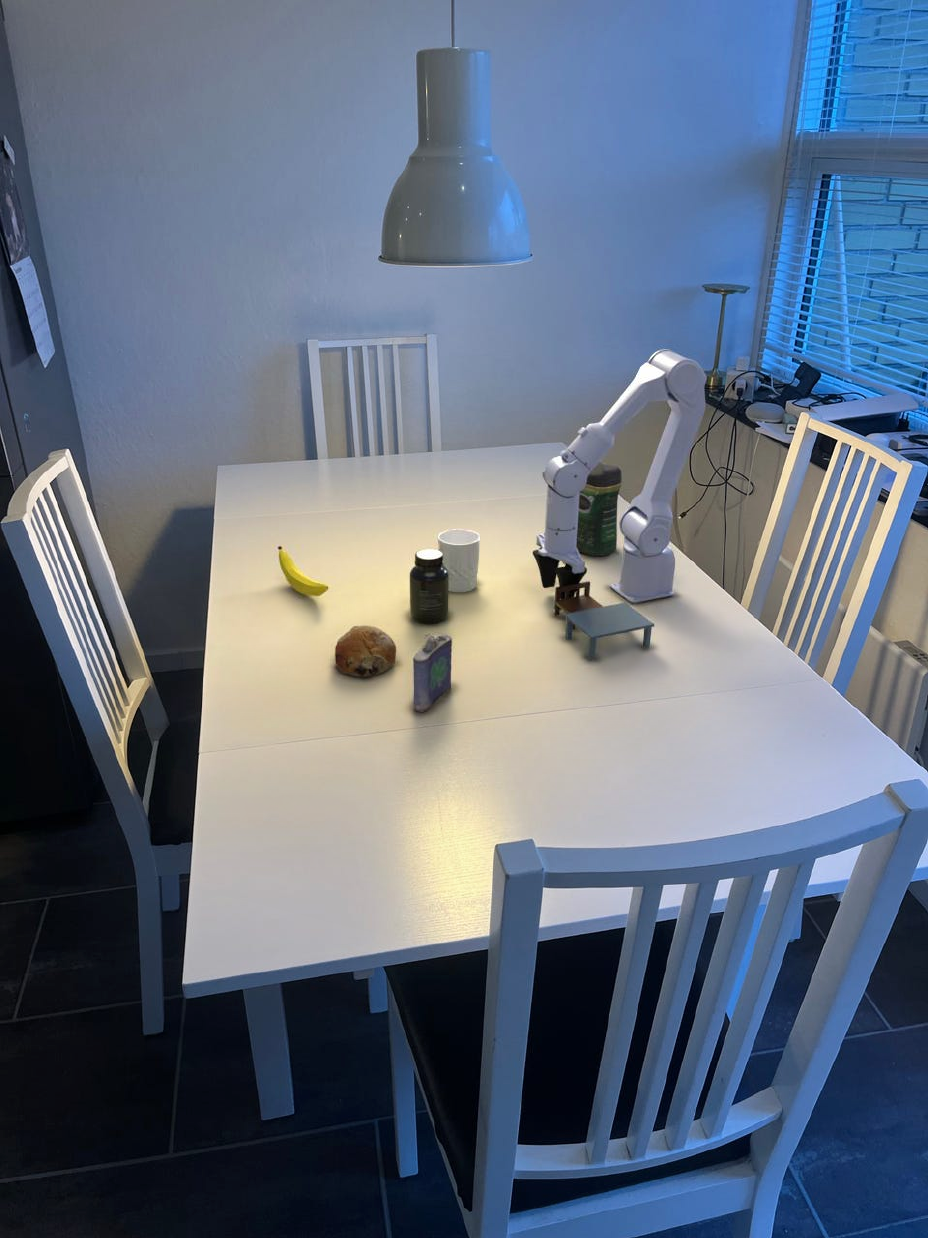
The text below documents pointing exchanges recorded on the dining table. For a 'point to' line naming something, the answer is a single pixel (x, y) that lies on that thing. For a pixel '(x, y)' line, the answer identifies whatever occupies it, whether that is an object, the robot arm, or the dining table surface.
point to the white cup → (460, 558)
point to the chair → (574, 599)
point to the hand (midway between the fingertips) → (557, 594)
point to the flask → (432, 671)
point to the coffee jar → (599, 511)
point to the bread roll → (365, 651)
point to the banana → (299, 577)
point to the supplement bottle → (429, 588)
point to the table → (608, 624)
